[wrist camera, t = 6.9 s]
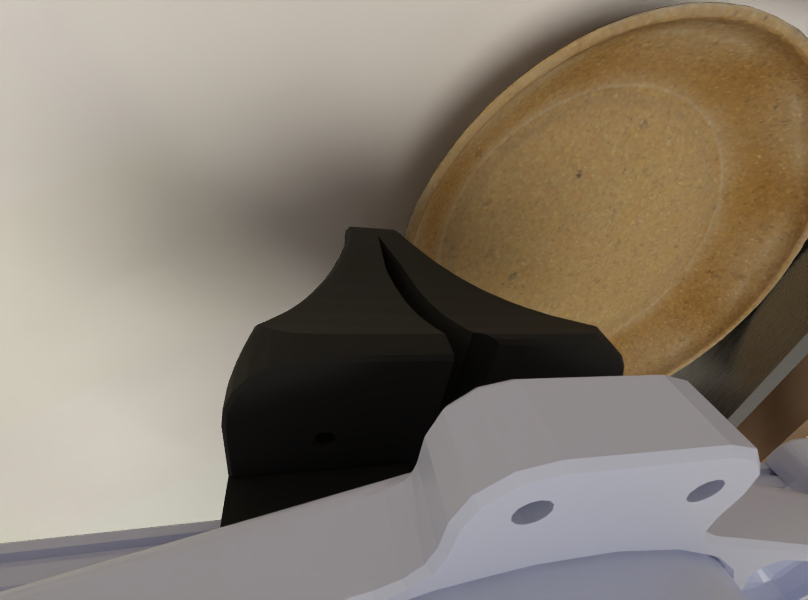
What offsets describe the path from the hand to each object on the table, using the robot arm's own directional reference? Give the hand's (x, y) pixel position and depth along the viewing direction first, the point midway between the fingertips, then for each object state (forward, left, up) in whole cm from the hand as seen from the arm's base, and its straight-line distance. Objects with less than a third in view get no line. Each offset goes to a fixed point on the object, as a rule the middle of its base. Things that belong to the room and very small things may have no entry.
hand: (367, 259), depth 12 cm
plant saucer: (0, -8, -2) cm, 9 cm away
